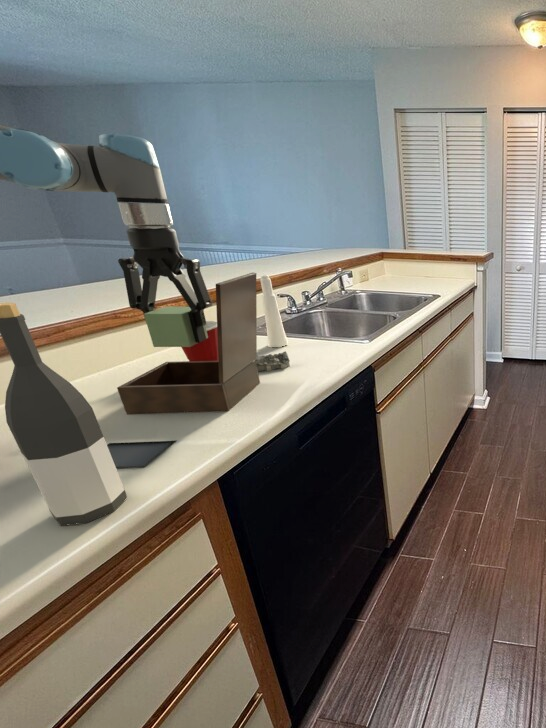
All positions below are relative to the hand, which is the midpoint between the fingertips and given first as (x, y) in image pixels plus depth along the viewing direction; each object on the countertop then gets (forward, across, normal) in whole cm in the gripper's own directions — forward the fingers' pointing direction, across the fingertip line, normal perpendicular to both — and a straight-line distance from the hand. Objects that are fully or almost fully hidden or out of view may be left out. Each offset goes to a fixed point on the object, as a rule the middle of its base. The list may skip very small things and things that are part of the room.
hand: (181, 340), depth 90 cm
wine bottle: (+15, -5, +38) cm, 41 cm away
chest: (+14, 0, 0) cm, 14 cm away
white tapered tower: (+14, -1, -43) cm, 46 cm away
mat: (+14, 0, +22) cm, 26 cm away
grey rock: (+14, -7, -20) cm, 26 cm away
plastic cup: (+14, +10, -22) cm, 28 cm away
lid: (-3, -12, 0) cm, 12 cm away
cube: (0, 0, 0) cm, 0 cm away
